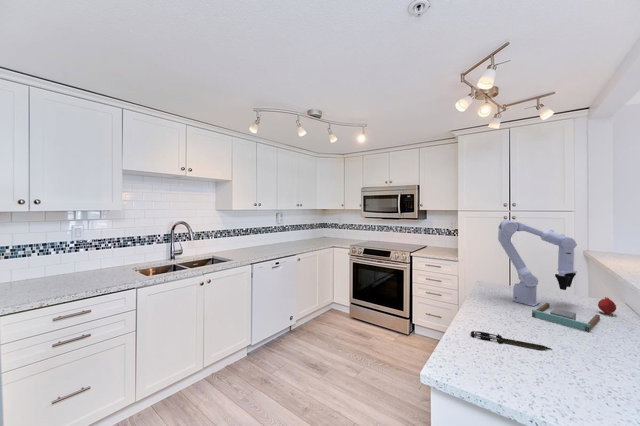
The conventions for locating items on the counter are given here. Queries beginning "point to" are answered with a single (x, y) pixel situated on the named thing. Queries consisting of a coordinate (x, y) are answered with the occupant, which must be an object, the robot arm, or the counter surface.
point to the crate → (564, 313)
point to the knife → (508, 341)
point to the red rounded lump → (607, 305)
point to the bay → (564, 319)
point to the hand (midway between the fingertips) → (565, 288)
